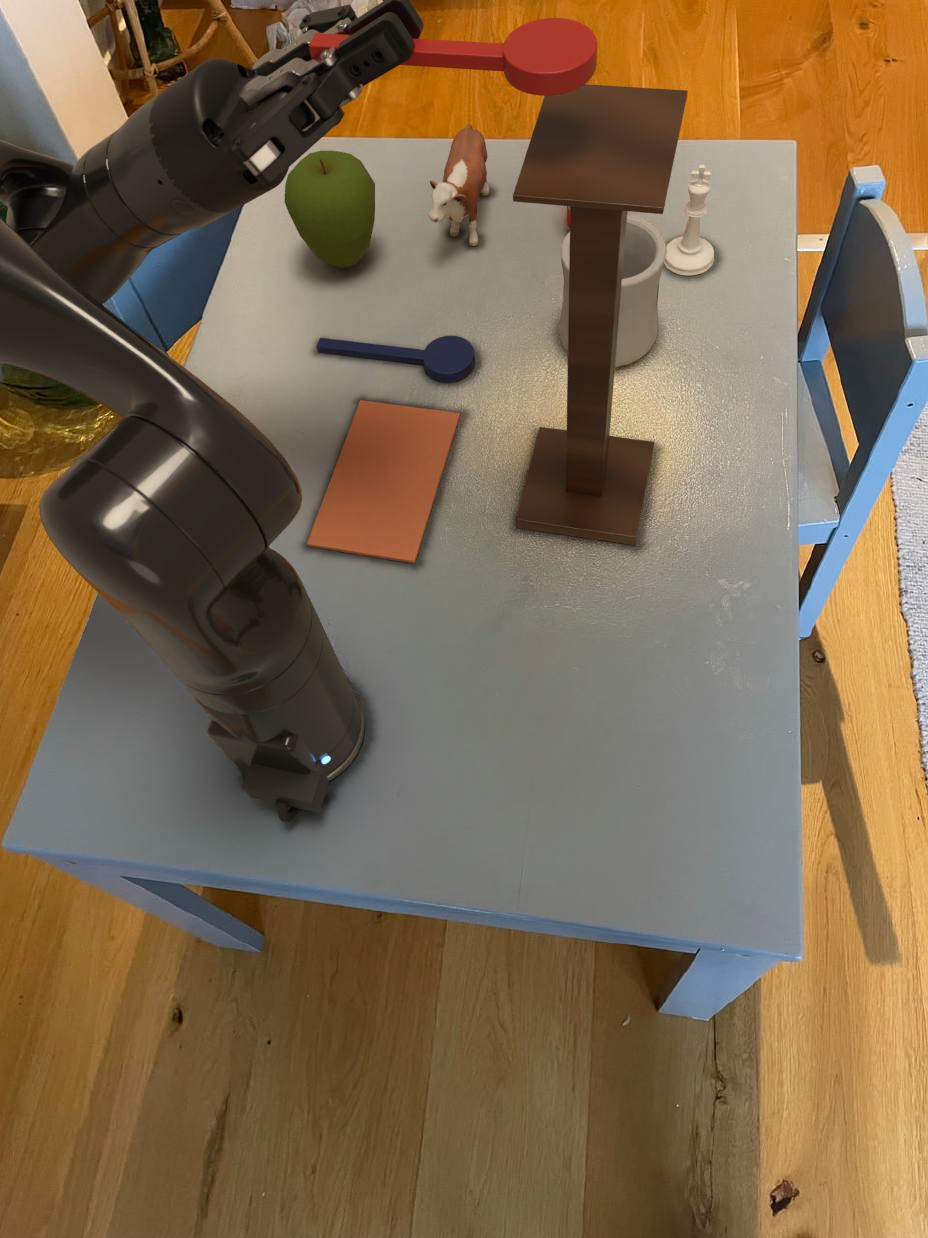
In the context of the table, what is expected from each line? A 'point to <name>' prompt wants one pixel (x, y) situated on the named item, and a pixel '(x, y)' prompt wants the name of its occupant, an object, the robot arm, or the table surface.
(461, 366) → the navy spoon
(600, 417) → the spoon stand
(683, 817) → the table surface
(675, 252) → the chess piece
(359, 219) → the apple
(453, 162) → the bull figurine
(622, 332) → the mug
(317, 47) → the red spoon
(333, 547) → the terracotta mat
